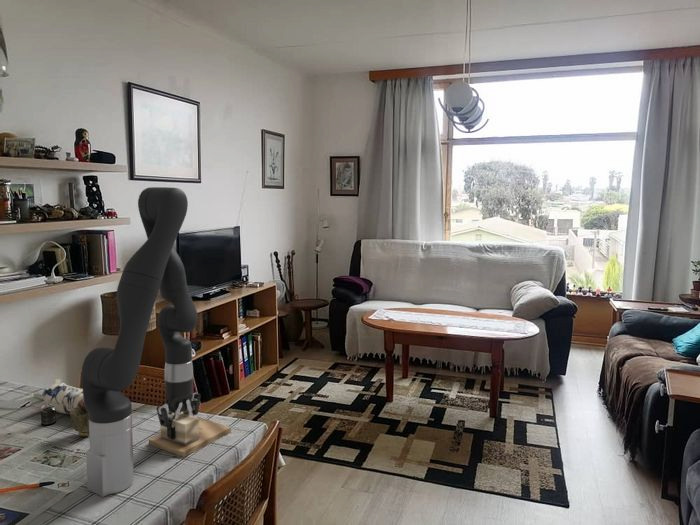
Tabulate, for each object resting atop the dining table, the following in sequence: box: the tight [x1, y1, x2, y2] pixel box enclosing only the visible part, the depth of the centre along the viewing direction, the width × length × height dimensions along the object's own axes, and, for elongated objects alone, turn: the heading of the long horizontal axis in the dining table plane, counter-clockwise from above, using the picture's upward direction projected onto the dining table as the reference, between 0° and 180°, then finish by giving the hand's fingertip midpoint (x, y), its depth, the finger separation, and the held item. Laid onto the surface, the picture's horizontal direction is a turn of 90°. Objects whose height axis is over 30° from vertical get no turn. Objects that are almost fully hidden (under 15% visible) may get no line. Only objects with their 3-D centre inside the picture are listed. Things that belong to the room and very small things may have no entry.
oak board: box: [148, 416, 232, 458], centre depth 145 cm, size 18×14×2 cm
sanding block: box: [159, 412, 199, 446], centre depth 141 cm, size 5×10×6 cm, turn 60°
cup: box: [69, 404, 89, 438], centre depth 145 cm, size 8×7×8 cm
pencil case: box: [42, 378, 84, 416], centre depth 160 cm, size 22×8×10 cm, turn 69°
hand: (180, 434), depth 141 cm, fingers closed on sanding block, 5 cm apart
